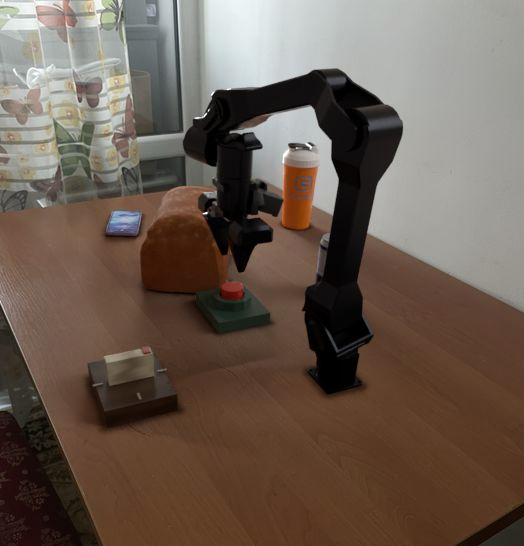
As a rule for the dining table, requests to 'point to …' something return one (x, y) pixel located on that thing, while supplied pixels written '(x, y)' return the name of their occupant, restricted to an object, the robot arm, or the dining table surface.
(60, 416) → the dining table surface
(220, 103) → the robot arm
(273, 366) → the dining table surface
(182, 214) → the bread
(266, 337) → the dining table surface
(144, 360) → the cream block
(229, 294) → the button
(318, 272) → the beverage can
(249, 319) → the block
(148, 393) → the switch base
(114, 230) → the smartphone
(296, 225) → the shaker bottle
